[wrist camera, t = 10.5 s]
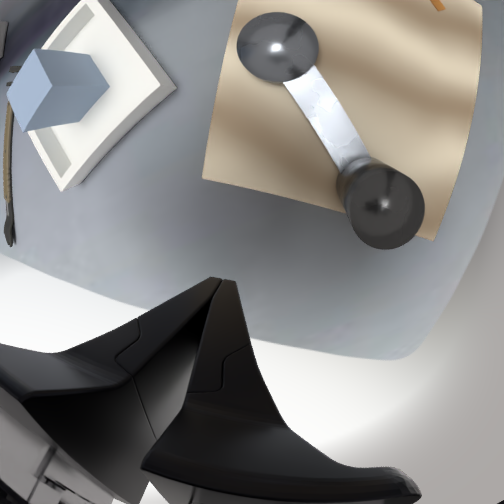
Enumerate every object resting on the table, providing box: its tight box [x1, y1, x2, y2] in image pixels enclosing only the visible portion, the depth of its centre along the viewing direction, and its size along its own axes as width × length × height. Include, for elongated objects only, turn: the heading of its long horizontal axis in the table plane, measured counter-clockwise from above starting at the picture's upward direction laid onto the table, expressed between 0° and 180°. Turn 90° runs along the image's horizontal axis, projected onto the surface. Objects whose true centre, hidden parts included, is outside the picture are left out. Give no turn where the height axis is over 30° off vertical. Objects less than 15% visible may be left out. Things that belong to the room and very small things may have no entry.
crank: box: [236, 12, 425, 249], centre depth 12 cm, size 14×4×5 cm, turn 34°
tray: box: [28, 0, 177, 192], centre depth 15 cm, size 12×12×2 cm
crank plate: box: [202, 0, 482, 241], centre depth 13 cm, size 19×16×2 cm
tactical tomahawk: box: [3, 66, 22, 247], centre depth 20 cm, size 21×7×1 cm, turn 161°
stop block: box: [6, 49, 110, 132], centre depth 13 cm, size 4×4×6 cm
